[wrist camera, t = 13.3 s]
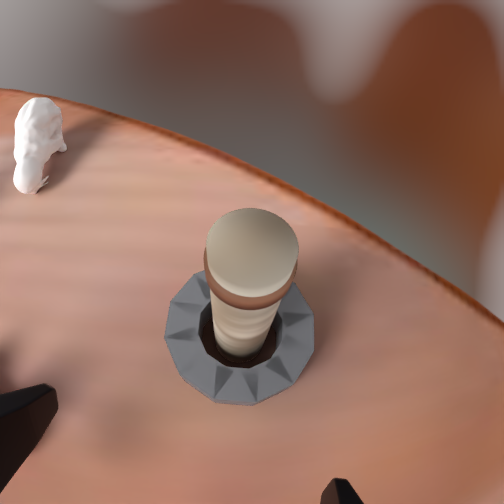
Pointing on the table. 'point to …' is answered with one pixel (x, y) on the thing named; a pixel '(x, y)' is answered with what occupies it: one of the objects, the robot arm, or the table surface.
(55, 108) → the white animal statue
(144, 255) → the table surface
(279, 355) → the grey ring
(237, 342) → the birch peg
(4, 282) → the table surface
